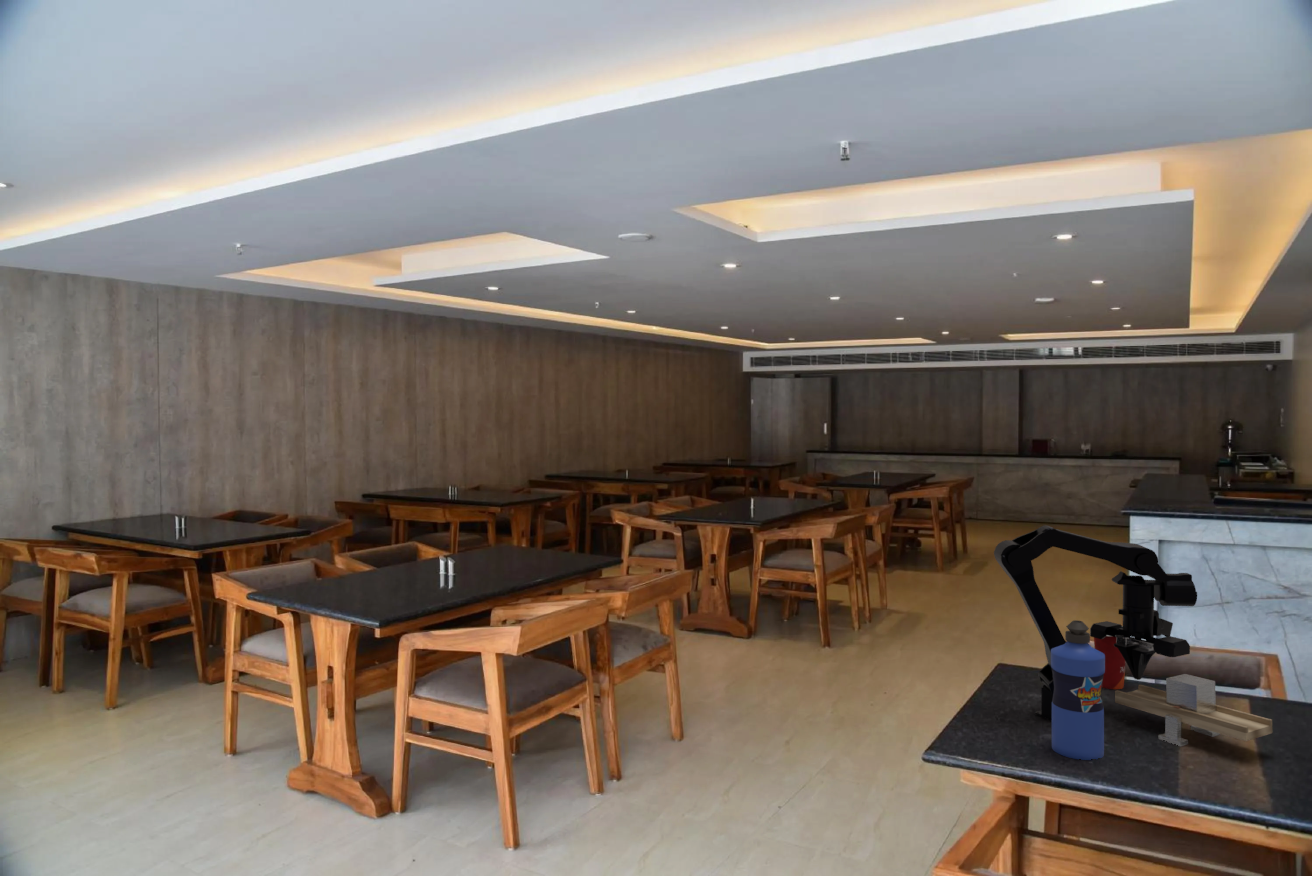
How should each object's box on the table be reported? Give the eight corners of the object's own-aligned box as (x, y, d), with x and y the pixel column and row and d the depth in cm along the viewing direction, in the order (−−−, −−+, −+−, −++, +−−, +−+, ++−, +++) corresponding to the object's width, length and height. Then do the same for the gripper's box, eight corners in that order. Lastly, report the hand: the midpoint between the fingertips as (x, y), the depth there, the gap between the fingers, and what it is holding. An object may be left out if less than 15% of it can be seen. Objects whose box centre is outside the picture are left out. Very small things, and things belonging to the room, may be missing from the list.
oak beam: (1245, 745, 158) (1245, 726, 158) (1115, 706, 182) (1114, 689, 182) (1272, 737, 162) (1272, 718, 162) (1141, 699, 186) (1140, 683, 185)
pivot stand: (1180, 746, 167) (1180, 721, 167) (1158, 739, 171) (1158, 714, 171) (1219, 734, 173) (1219, 710, 173) (1197, 727, 177) (1197, 703, 177)
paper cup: (1135, 690, 200) (1135, 630, 199) (1101, 691, 200) (1101, 631, 200) (1118, 680, 208) (1118, 622, 207) (1085, 680, 208) (1085, 622, 207)
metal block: (1197, 716, 168) (1196, 686, 168) (1166, 708, 173) (1166, 678, 173) (1215, 711, 170) (1215, 681, 170) (1185, 703, 176) (1184, 673, 176)
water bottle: (1116, 758, 163) (1116, 626, 162) (1070, 762, 161) (1070, 629, 160) (1083, 739, 172) (1083, 614, 171) (1040, 743, 170) (1040, 617, 169)
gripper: (1207, 609, 176) (1206, 685, 177) (1122, 592, 193) (1121, 662, 193) (1172, 616, 171) (1171, 694, 172) (1088, 598, 188) (1088, 669, 189)
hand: (1137, 679), depth 182 cm, fingers closed
